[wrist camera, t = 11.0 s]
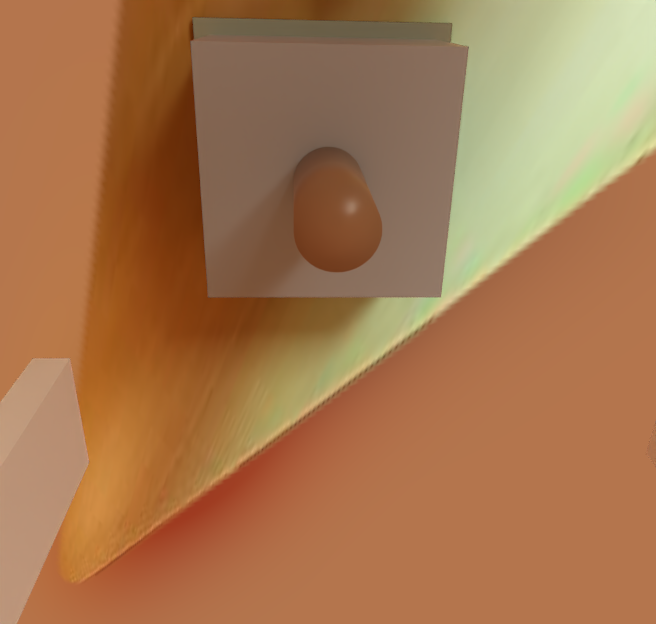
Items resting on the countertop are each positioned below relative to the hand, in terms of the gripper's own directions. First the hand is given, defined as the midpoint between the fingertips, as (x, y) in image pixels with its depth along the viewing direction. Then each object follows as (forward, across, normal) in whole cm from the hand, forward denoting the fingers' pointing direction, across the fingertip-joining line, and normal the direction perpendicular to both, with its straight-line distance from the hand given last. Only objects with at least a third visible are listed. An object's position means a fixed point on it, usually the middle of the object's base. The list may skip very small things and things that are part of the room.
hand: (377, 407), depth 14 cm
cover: (+28, 0, 0) cm, 28 cm away
